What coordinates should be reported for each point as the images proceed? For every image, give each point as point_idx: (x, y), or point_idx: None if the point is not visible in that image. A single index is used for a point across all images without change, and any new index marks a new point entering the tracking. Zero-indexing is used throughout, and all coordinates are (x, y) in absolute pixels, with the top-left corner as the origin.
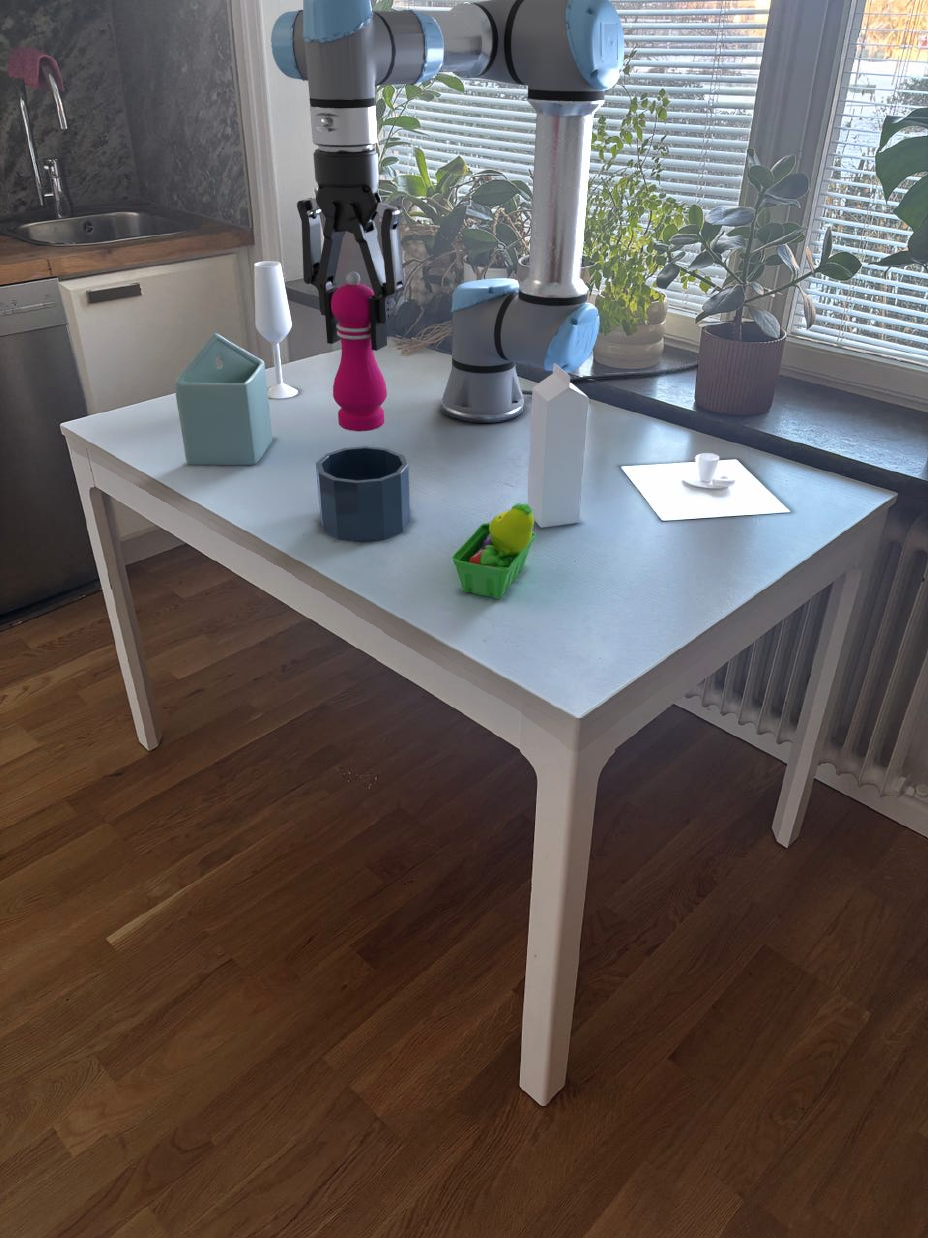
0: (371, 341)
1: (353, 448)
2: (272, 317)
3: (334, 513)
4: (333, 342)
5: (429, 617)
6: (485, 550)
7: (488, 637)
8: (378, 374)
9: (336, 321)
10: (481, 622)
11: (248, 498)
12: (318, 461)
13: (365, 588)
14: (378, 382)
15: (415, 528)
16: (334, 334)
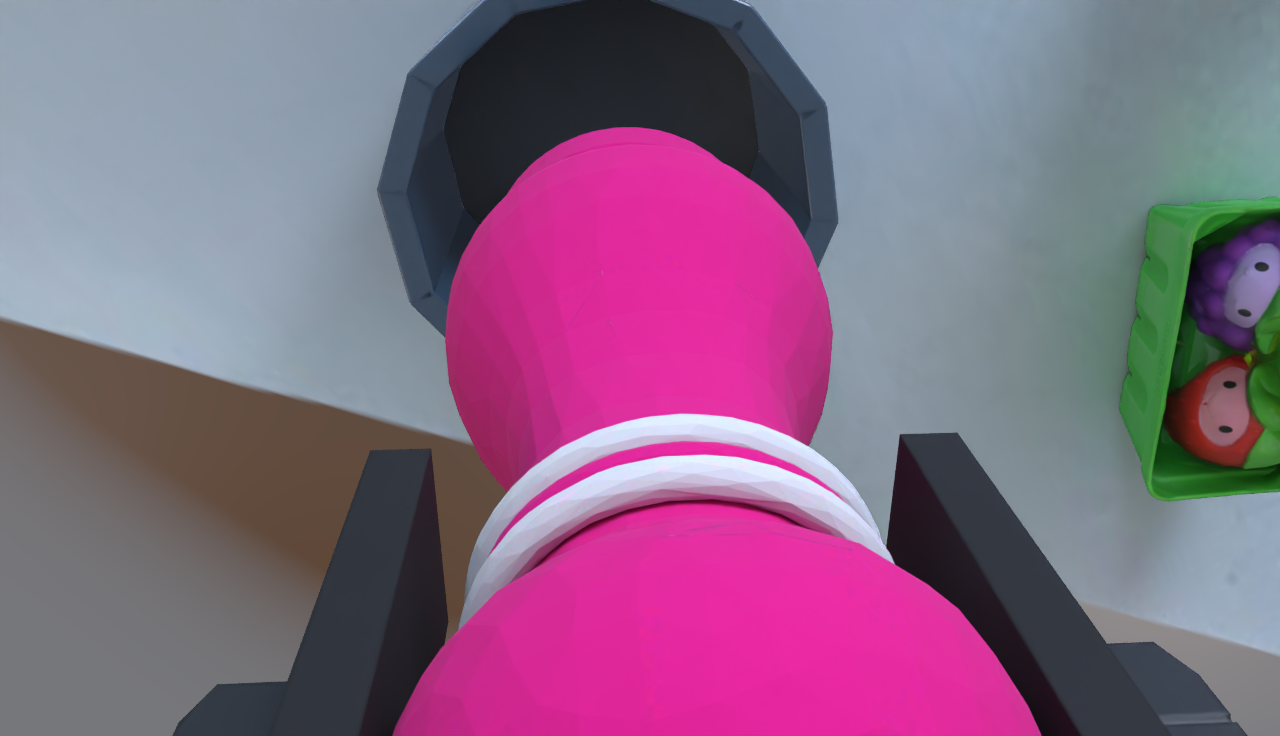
0: None
1: (459, 54)
2: None
3: None
4: (445, 605)
5: (1064, 555)
6: (1267, 446)
7: (1238, 563)
8: (818, 380)
9: (410, 666)
10: (1206, 516)
11: (44, 181)
12: (409, 282)
13: None
14: (825, 394)
15: None
16: (433, 626)
